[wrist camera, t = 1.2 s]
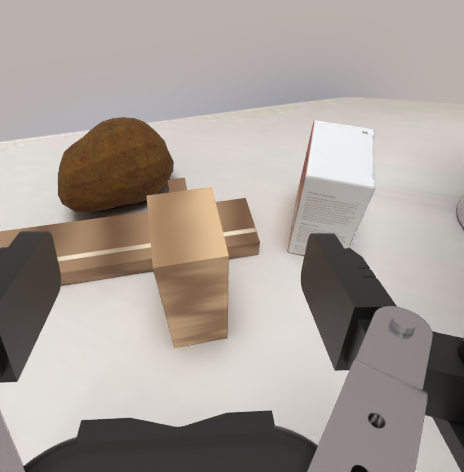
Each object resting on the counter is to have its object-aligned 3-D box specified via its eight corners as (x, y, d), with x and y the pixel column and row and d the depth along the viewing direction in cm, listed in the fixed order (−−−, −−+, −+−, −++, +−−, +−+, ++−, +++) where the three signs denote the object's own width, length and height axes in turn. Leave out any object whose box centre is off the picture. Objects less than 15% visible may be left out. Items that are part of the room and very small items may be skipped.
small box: (295, 198, 42) (313, 117, 34) (345, 207, 41) (376, 127, 33) (285, 253, 37) (303, 174, 29) (342, 265, 36) (376, 187, 28)
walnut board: (244, 210, 40) (245, 197, 39) (258, 254, 37) (259, 241, 35) (-8, 246, 37) (-19, 233, 35) (-21, 298, 33) (-34, 286, 32)
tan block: (205, 231, 39) (199, 135, 29) (227, 337, 31) (228, 255, 22) (161, 237, 38) (141, 141, 29) (174, 347, 31) (152, 268, 21)
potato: (66, 179, 43) (36, 113, 36) (165, 157, 46) (155, 92, 39) (73, 231, 38) (40, 166, 31) (183, 204, 41) (175, 139, 34)
